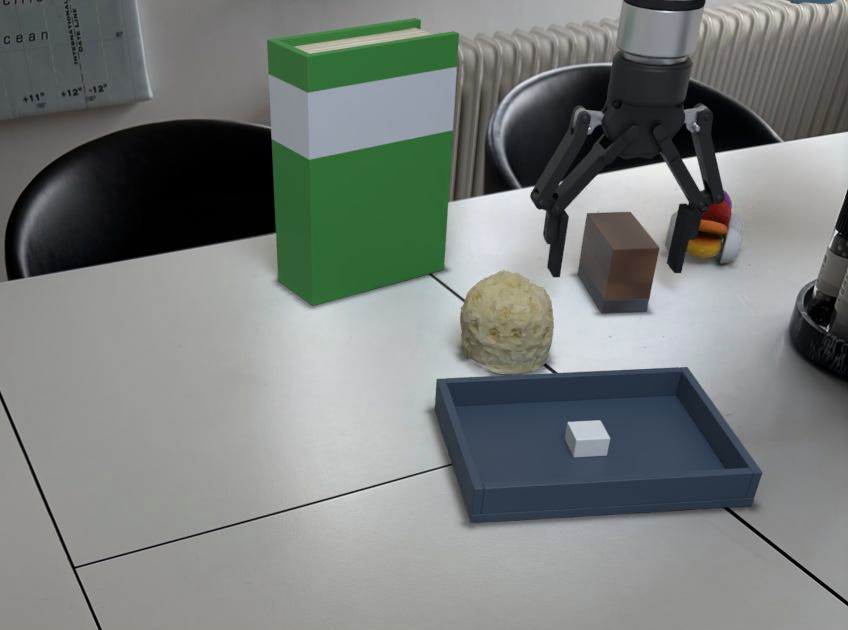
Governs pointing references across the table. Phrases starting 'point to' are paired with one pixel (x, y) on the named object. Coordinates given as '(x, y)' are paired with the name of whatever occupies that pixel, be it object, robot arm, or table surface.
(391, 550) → the table surface
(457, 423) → the tray
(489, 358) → the decorative item
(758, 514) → the table surface
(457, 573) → the table surface
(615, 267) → the eraser
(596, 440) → the white short square block
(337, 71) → the hardback book
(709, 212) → the rainbow disc roller
